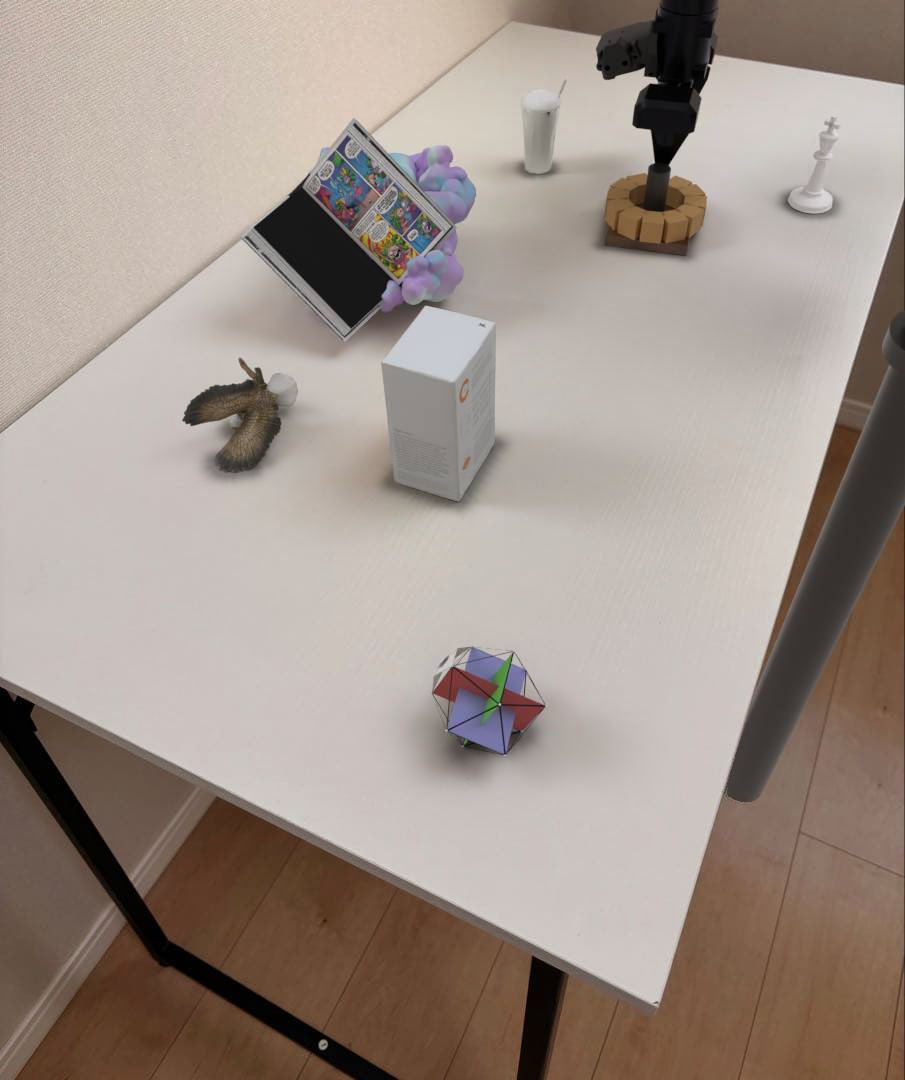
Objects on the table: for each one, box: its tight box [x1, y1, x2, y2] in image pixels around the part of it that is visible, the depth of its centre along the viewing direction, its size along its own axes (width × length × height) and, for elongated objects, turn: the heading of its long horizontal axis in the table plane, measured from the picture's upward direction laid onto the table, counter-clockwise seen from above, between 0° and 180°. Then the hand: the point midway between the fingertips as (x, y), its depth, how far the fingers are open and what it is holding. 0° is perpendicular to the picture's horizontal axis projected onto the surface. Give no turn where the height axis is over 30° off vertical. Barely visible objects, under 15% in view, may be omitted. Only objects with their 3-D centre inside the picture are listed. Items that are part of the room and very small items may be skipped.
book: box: [239, 117, 477, 343], centre depth 94 cm, size 20×22×18 cm
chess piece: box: [787, 115, 841, 215], centre depth 105 cm, size 5×5×10 cm
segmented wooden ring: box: [604, 172, 708, 244], centre depth 104 cm, size 11×11×2 cm
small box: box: [380, 305, 497, 502], centre depth 77 cm, size 8×6×13 cm
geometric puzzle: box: [430, 645, 548, 758], centre depth 62 cm, size 7×7×8 cm
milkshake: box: [520, 79, 567, 175], centre depth 112 cm, size 5×5×10 cm
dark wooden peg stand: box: [603, 162, 691, 256], centre depth 103 cm, size 9×9×7 cm
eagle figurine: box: [182, 357, 299, 473], centre depth 82 cm, size 8×7×9 cm
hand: (665, 154), depth 104 cm, fingers open, 6 cm apart
